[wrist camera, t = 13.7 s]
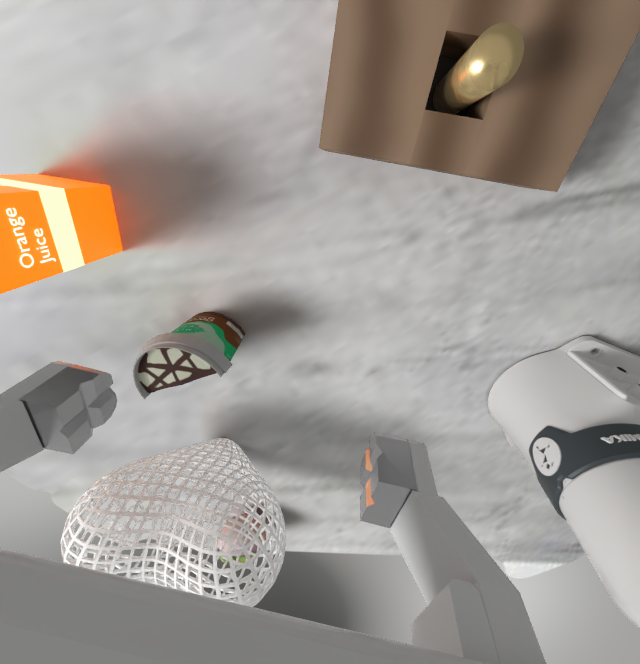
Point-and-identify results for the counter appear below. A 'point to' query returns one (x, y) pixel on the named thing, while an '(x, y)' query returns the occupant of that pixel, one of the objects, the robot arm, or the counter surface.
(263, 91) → the counter surface
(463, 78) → the peg
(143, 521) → the heart
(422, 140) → the hole block
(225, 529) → the decorative fruit
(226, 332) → the food container
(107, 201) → the orange juice
